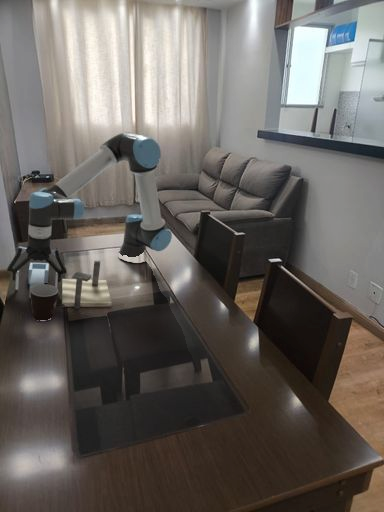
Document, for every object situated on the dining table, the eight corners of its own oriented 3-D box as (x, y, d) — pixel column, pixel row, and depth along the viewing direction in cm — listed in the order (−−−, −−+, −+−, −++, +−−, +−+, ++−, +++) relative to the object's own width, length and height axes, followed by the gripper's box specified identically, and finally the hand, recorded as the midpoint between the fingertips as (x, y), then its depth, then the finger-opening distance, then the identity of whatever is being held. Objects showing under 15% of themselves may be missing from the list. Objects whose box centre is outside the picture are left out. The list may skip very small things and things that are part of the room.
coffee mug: (47, 326, 116) (48, 298, 113) (23, 319, 118) (24, 292, 114) (66, 310, 127) (68, 285, 124) (44, 304, 128) (45, 279, 125)
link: (29, 276, 147) (30, 262, 145) (48, 276, 149) (48, 263, 147) (25, 298, 130) (26, 283, 128) (46, 298, 133) (47, 283, 131)
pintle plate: (62, 282, 147) (64, 255, 143) (105, 283, 153) (108, 257, 149) (62, 308, 128) (64, 278, 124) (111, 309, 134) (115, 280, 130)
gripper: (-1, 236, 122) (-2, 292, 129) (76, 241, 131) (71, 293, 138) (2, 229, 128) (1, 283, 135) (75, 235, 137) (71, 285, 144)
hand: (36, 288), depth 136 cm, fingers open, 13 cm apart
